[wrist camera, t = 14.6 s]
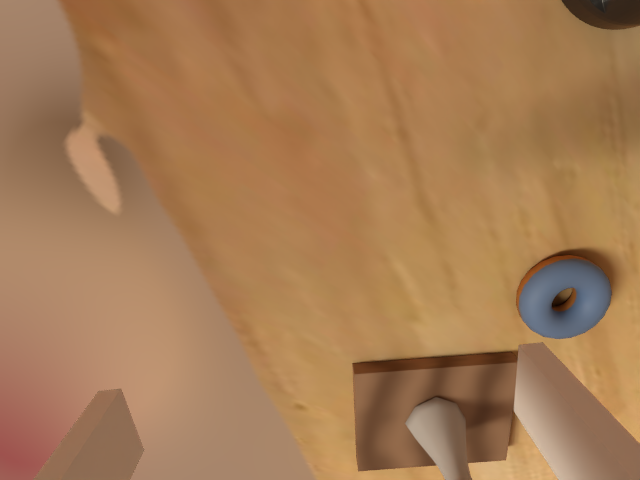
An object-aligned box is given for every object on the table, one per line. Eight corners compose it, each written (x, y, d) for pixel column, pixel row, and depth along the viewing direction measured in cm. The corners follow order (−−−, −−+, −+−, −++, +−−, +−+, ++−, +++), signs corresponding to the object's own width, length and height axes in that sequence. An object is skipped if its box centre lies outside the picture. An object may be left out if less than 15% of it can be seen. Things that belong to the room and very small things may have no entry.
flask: (474, 416, 48) (514, 491, 39) (433, 449, 50) (462, 529, 40) (435, 387, 46) (468, 459, 37) (394, 422, 48) (415, 500, 39)
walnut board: (511, 351, 47) (519, 362, 45) (499, 447, 53) (506, 460, 51) (352, 363, 47) (354, 374, 45) (356, 458, 53) (358, 471, 51)
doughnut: (500, 325, 46) (524, 347, 41) (520, 247, 43) (549, 261, 39) (573, 327, 47) (603, 347, 43) (597, 251, 44) (633, 265, 40)
